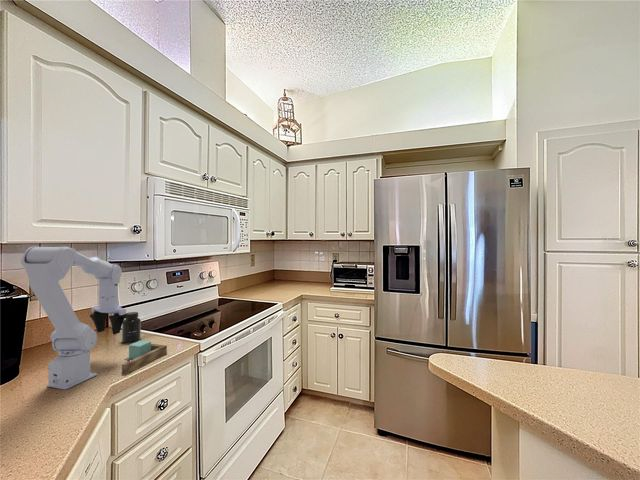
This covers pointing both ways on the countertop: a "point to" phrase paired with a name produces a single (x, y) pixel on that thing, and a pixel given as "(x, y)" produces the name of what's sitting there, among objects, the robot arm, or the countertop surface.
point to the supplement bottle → (131, 328)
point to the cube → (139, 349)
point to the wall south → (142, 360)
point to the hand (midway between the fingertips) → (108, 332)
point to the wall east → (155, 346)
